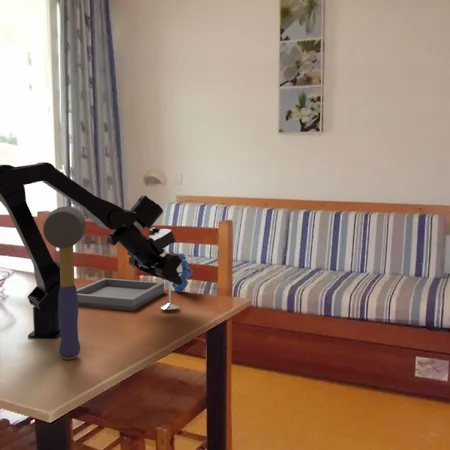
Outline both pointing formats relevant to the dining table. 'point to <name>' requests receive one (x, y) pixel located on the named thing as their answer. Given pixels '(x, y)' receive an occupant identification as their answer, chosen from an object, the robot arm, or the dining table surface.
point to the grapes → (183, 274)
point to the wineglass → (170, 306)
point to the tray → (119, 293)
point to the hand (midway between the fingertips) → (174, 281)
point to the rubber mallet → (66, 272)
